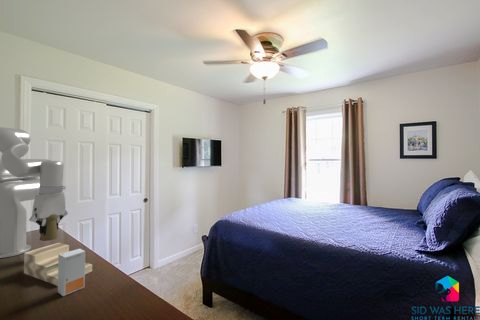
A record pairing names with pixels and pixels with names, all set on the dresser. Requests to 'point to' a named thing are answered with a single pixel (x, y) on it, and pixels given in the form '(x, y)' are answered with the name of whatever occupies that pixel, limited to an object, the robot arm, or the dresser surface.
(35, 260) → the step stand
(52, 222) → the cork
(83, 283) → the skincare box
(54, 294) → the dresser surface
